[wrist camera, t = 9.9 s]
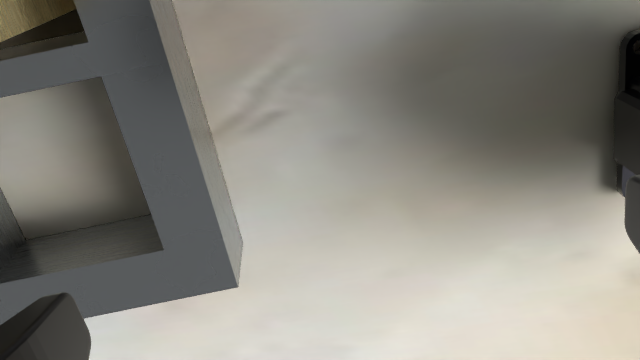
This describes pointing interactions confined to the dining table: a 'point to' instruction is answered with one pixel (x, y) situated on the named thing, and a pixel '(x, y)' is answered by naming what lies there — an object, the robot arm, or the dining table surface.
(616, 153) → the robot arm
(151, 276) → the grey slotted tray
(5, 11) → the brass block
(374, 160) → the dining table surface
